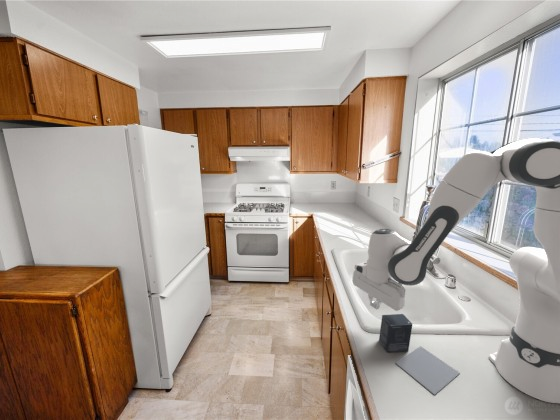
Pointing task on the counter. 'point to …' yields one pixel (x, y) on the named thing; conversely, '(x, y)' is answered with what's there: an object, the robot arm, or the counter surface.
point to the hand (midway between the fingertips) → (374, 307)
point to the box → (395, 332)
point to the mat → (427, 369)
